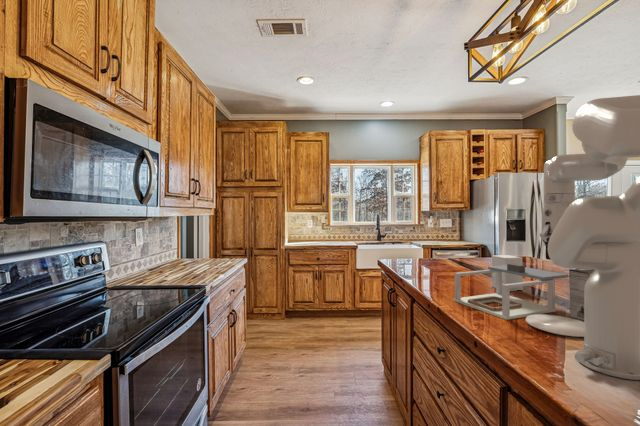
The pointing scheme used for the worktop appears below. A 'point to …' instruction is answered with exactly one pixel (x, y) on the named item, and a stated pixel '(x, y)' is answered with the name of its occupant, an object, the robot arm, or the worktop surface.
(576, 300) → the coffee box
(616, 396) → the worktop surface
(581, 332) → the plate
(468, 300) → the white tiered shelf stand
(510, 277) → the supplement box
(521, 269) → the slide cover
